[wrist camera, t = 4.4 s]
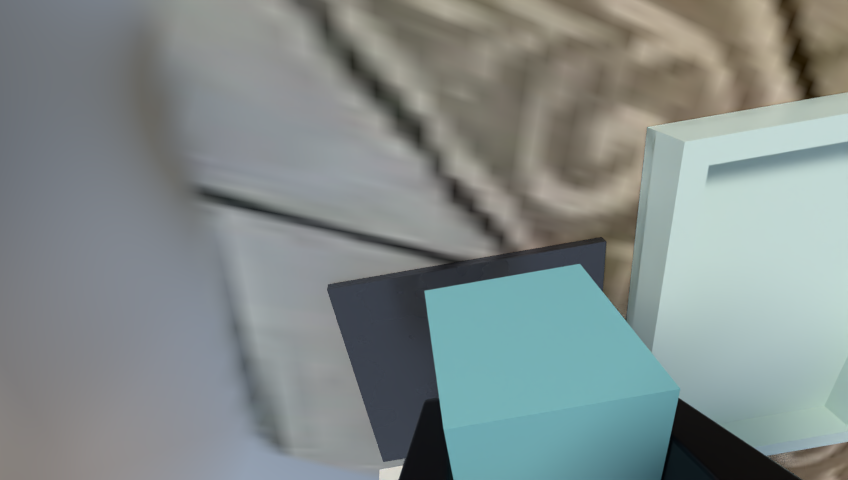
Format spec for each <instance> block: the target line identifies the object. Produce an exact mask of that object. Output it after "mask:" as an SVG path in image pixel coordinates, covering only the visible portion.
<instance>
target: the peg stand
mask: <svg viewBox="0 0 848 480" xmlns="http://www.w3.org/2000/svg"><path fill="white" fill-rule="evenodd" d="M605 250H606V241H605V240H604V239H603V238H602V237H600V238H594V239H588V240H582V241H576V242H571V243H565V244H559V245H553V246H548V247H542V248H536V249H530V250H525V251H519V252H513V253H507V254H501V255H496V256H490V257H484V258H478V259H473V260H467V261H461V262H455V263H449V264H444V265H438V266H432V267H426V268H421V269H415V270H409V271H403V272H398V273H392V274H386V275H380V276H374V277H369V278H363V279H357V280H351V281H346V282H340V283H334V284H328V288H327V291H328V294H329V297H330V300H331V303H332V306H333V309H334V312H335V315H336V318H337V321H338V325H339V328H340V331H341V334H342V337H343V340H344V343H345V346H346V349H347V352H348V355H349V358H350V361H351V364H352V367H353V370H354V374H355V377H356V380H357V383H358V386H359V389H360V392H361V395H362V398H363V401H364V404H365V407H366V410H367V413H368V416H369V419H370V422H371V426H372V429H373V432H374V435H375V438H376V441H377V444H378V447H379V450H380V453H381V456H382V459H383V462H386V461H391V460H397V459H403V458H406V455H407V452H408V448H409V445H410V442H411V439H412V436H413V433H414V430H415V427H416V424H417V421H418V418H419V414H420V411H421V408H422V405H423V403H424V401H425V400H427V399H432V398H438V397H439V393H438V386H437V379H436V372H435V364H434V357H433V350H432V343H431V335H430V328H429V321H428V314H427V307H426V299H425V292H424V291H426V290H432V289H437V288H443V287H449V286H455V285H460V284H466V283H472V282H478V281H483V280H489V279H495V278H501V277H506V276H512V275H518V274H524V273H529V272H535V271H541V270H547V269H553V268H558V267H564V266H570V265H576V264H581V266H582V267H583V268H584V269H585V271H586V272H587V273H588V274H589V276H590V277H591V278H592V279H593V281H594V282H595V283H596V284H597V286H598V287H599V288H600V289H601V291H602V292H603V278H604V264H605Z"/></svg>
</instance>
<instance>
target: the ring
mask: <svg viewBox="0 0 848 480" xmlns="http://www.w3.org/2000/svg"><path fill="white" fill-rule="evenodd" d="M424 292H425V299H426V307H427V314H428V321H429V328H430V335H431V343H432V350H433V357H434V364H435V372H436V379H437V386H438V393H439V400H440V408H441V415H442V422H443V429H444V434H445V439H446V444H447V449H448V454H449V459H450V464H451V469H452V474H453V479H454V480H661V477H662V472H663V468H664V463H665V458H666V454H667V449H668V445H669V440H670V435H671V431H672V426H673V421H674V417H675V412H676V407H677V403H678V398H679V393H680V388H679V386H678V385H677V384H676V383H675V381H674V380H673V379H672V378H671V376H670V375H669V374H668V373H667V371H666V370H665V369H664V368H663V366H662V365H661V364H660V363H659V361H658V360H657V359H656V358H655V356H654V355H653V354H652V353H651V351H650V350H649V349H648V348H647V347H646V345H645V344H644V343H643V342H642V340H641V339H640V338H639V337H638V335H637V334H636V333H635V332H634V330H633V329H632V328H631V327H630V325H629V324H628V323H627V322H626V320H625V319H624V318H623V317H622V315H621V314H620V313H619V312H618V310H617V309H616V308H615V307H614V305H613V304H612V303H611V302H610V300H609V299H608V298H607V297H606V296H605V294H604V293H603V292H602V291H601V289H600V288H599V287H598V286H597V284H596V283H595V282H594V281H593V279H592V278H591V277H590V276H589V274H588V273H587V272H586V271H585V269H584V268H583V267H582V266H581V264H576V265H570V266H564V267H558V268H553V269H547V270H541V271H535V272H529V273H524V274H518V275H512V276H506V277H501V278H495V279H489V280H483V281H478V282H472V283H466V284H460V285H455V286H449V287H443V288H437V289H432V290H426V291H424ZM402 467H403V466H398V467H392V468H386V469H381V470H379V480H398V479H399V476H400V473H401V470H402Z"/></svg>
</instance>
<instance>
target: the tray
mask: <svg viewBox="0 0 848 480" xmlns="http://www.w3.org/2000/svg"><path fill="white" fill-rule="evenodd" d="M626 322H627V323H628V324H629V325H630V327H631V328H632V329H633V330H634V332H635V333H636V334H637V335H638V337H639V338H640V339H641V340H642V342H643V343H644V344H645V345H646V347H647V348H648V349H649V350H650V351H651V353H652V354H653V355H654V356H655V358H656V359H657V360H658V361H659V363H660V364H661V365H662V366H663V368H664V369H665V370H666V371H667V373H668V374H669V375H670V376H671V378H672V379H673V380H674V381H675V383H676V384H677V385H678V386H679V388H680V393H679V398H680V399H682V400H683V401H685V402H686V403H688V404H689V405H691V406H692V407H694V408H695V409H697V410H698V411H700V412H701V413H703V414H704V415H706V416H707V417H709V418H710V419H712V420H713V421H715V422H716V423H718V424H719V425H721V426H722V427H724V428H725V429H727V430H728V431H730V432H731V433H733V434H734V435H736V436H737V437H739V438H740V439H742V440H743V441H745V442H746V443H748V444H749V445H751V446H752V447H754V448H755V449H757V450H758V451H760V452H761V453H763V454H764V455H766V456H768V455H774V454H779V453H785V452H791V451H797V450H803V449H808V448H814V447H820V446H826V445H832V444H837V443H843V442H848V92H847V93H841V94H835V95H830V96H824V97H818V98H812V99H806V100H801V101H795V102H789V103H783V104H778V105H772V106H766V107H760V108H755V109H749V110H743V111H737V112H732V113H726V114H720V115H714V116H709V117H703V118H697V119H691V120H686V121H680V122H674V123H668V124H663V125H657V126H651V127H647V135H646V144H645V153H644V162H643V171H642V180H641V190H640V199H639V208H638V217H637V226H636V235H635V244H634V253H633V263H632V272H631V281H630V290H629V299H628V308H627V317H626Z"/></svg>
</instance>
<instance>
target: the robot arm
mask: <svg viewBox="0 0 848 480" xmlns="http://www.w3.org/2000/svg"><path fill="white" fill-rule="evenodd" d="M398 480H454V479H453V474H452V469H451V464H450V459H449V454H448V449H447V444H446V439H445V434H444V429H443V422H442V415H441V408H440V400H439V397H438V398H432V399H427V400H425V401H424V403H423V405H422V408H421V411H420V414H419V418H418V421H417V424H416V427H415V430H414V433H413V436H412V439H411V442H410V445H409V448H408V452H407V455H406V458H405V461H404V464H403V467H402V470H401V473H400V476H399V479H398ZM661 480H802V479H800V478H799V477H797V476H796V475H794V474H793V473H791V472H790V471H788V470H787V469H785V468H784V467H782V466H781V465H779V464H778V463H776V462H775V461H773V460H772V459H770V458H769V457H767V456H766V455H764V454H763V453H761V452H760V451H758V450H757V449H755V448H754V447H752V446H751V445H749V444H748V443H746V442H745V441H743V440H742V439H740V438H739V437H737V436H736V435H734V434H733V433H731V432H730V431H728V430H727V429H725V428H724V427H722V426H721V425H719V424H718V423H716V422H715V421H713V420H712V419H710V418H709V417H707V416H706V415H704V414H703V413H701V412H700V411H698V410H697V409H695V408H694V407H692V406H691V405H689V404H688V403H686V402H685V401H683V400H682V399H680V398H678V403H677V407H676V412H675V417H674V421H673V426H672V431H671V435H670V440H669V445H668V449H667V454H666V458H665V463H664V468H663V472H662V477H661Z"/></svg>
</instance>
